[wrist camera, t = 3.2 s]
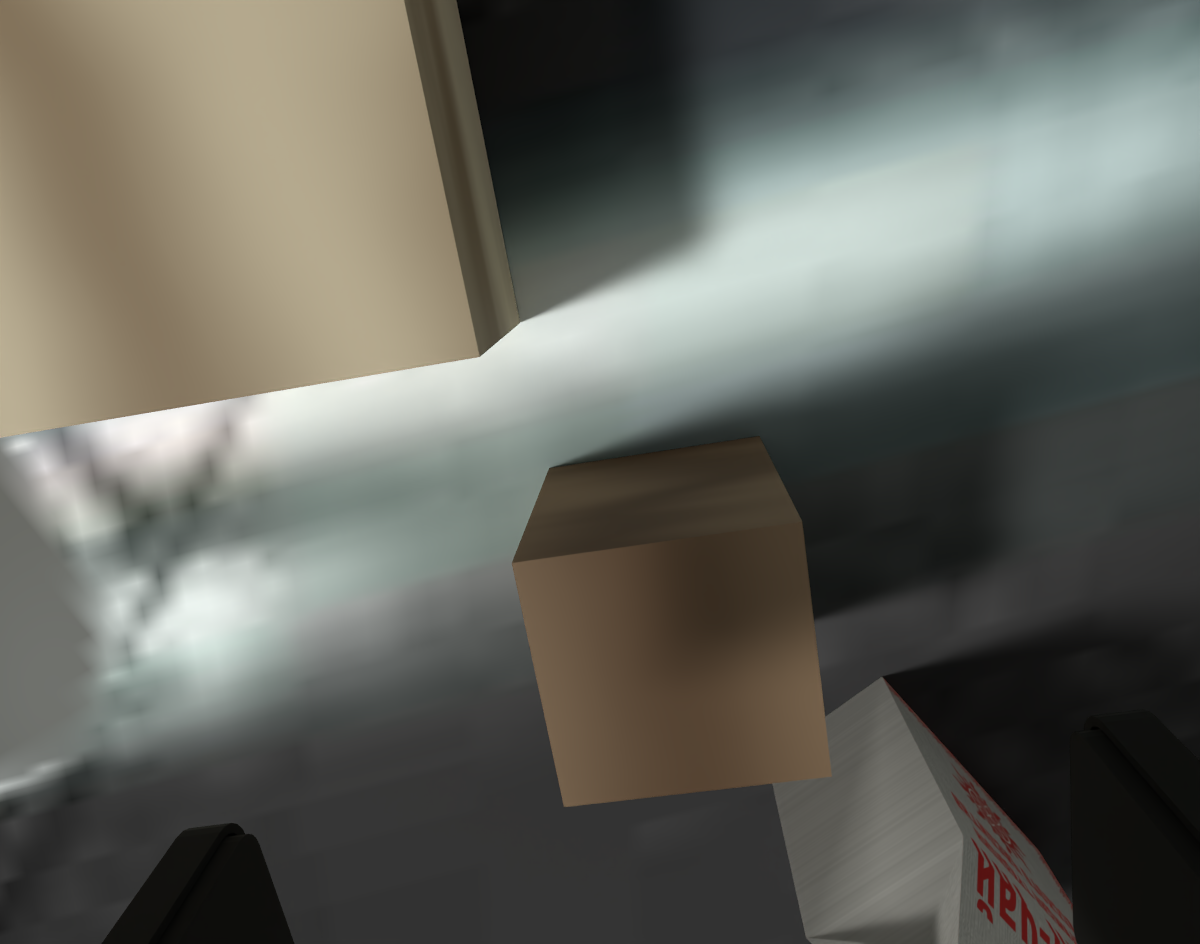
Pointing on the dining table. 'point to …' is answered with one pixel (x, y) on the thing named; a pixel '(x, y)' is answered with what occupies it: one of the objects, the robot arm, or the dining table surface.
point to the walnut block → (672, 625)
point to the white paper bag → (910, 842)
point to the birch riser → (236, 202)
